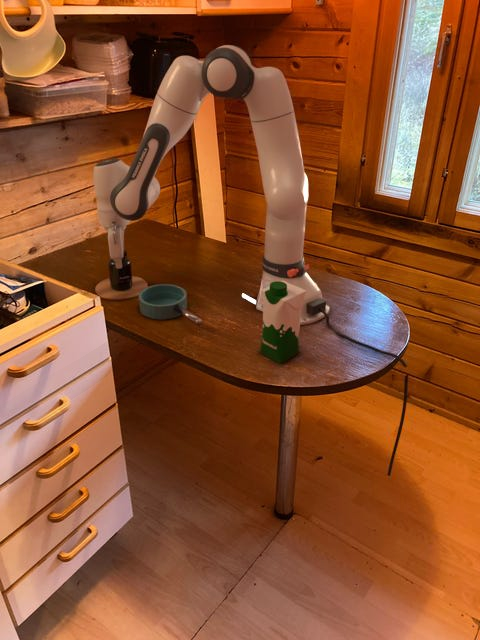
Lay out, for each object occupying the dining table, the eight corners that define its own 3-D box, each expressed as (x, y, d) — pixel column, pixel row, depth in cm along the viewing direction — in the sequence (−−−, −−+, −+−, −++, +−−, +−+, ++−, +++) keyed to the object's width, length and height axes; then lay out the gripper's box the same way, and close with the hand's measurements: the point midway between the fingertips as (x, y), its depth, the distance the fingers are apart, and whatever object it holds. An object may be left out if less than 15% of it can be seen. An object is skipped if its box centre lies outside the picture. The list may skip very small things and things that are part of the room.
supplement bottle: (125, 293, 155) (121, 256, 149) (106, 289, 157) (101, 253, 151) (137, 284, 161) (133, 248, 155) (118, 280, 163) (114, 245, 157)
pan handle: (203, 325, 137) (203, 319, 136) (197, 328, 135) (197, 321, 134) (177, 308, 144) (177, 302, 143) (172, 310, 143) (171, 304, 142)
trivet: (157, 289, 159) (157, 288, 158) (111, 305, 150) (110, 303, 149) (131, 272, 169) (131, 271, 169) (86, 286, 160) (86, 284, 160)
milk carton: (254, 352, 130) (257, 281, 120) (278, 339, 135) (283, 270, 125) (280, 367, 124) (285, 294, 114) (304, 353, 130) (311, 282, 120)
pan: (196, 310, 148) (195, 296, 146) (156, 325, 140) (155, 311, 138) (170, 293, 157) (169, 280, 155) (131, 306, 149) (129, 293, 147)
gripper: (124, 228, 139) (130, 274, 146) (125, 205, 157) (130, 247, 164) (101, 230, 138) (107, 276, 145) (104, 206, 156) (109, 249, 163)
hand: (119, 260), depth 155 cm, fingers open, 8 cm apart
